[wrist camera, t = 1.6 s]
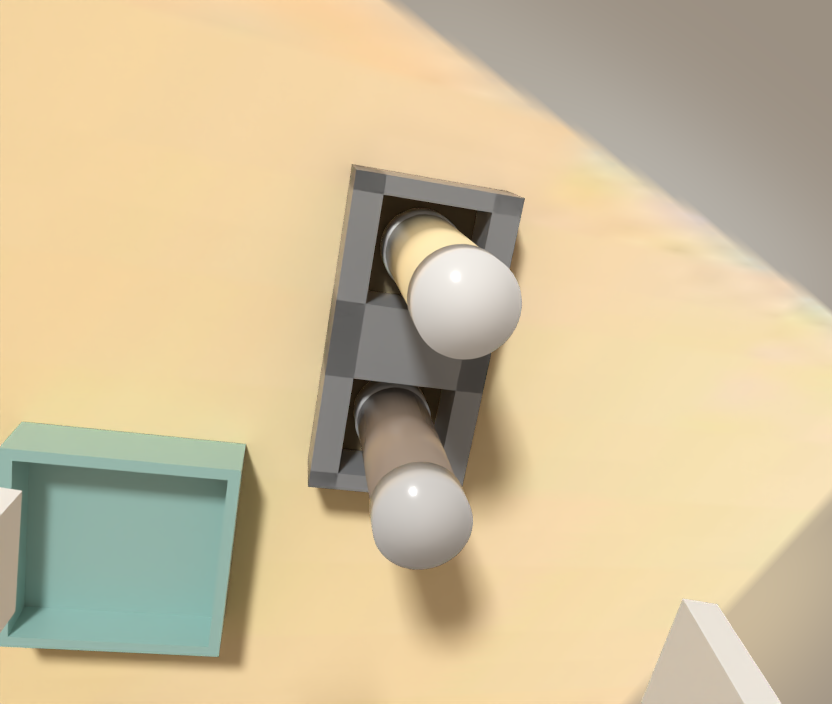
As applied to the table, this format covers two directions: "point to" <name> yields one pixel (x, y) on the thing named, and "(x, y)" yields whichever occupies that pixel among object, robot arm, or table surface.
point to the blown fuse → (409, 478)
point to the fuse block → (397, 325)
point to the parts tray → (121, 539)
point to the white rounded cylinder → (450, 285)
